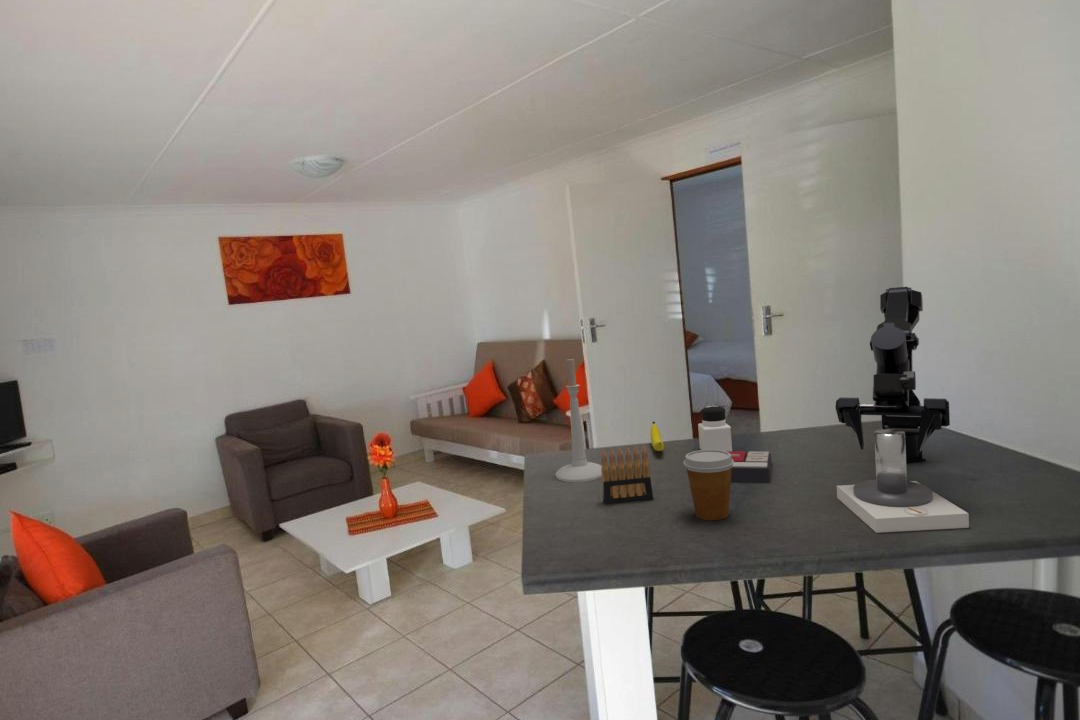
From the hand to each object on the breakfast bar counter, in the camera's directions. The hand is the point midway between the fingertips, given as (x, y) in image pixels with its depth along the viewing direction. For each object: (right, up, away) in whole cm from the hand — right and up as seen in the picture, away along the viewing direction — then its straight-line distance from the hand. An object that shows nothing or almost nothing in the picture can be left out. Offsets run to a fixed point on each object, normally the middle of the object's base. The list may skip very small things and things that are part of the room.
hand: (889, 450), depth 115 cm
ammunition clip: (-45, -14, +20) cm, 52 cm away
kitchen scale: (+2, -11, 0) cm, 12 cm away
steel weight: (+2, -8, +2) cm, 8 cm away
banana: (-32, -9, +58) cm, 67 cm away
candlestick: (-54, -13, +43) cm, 71 cm away
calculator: (-16, -10, +32) cm, 37 cm away
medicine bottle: (-17, -8, +52) cm, 56 cm away
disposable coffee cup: (-31, -14, +8) cm, 35 cm away
